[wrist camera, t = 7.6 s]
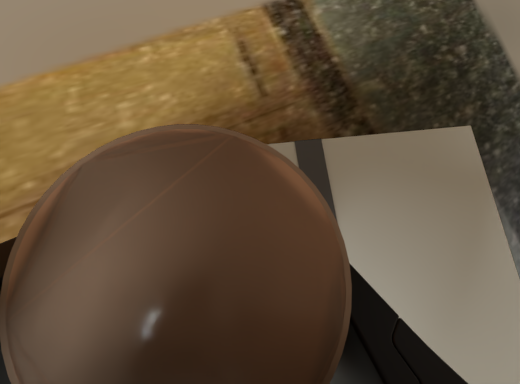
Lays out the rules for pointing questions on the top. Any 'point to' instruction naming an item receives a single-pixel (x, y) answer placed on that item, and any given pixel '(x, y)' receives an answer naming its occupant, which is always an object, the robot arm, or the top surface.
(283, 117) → the top surface
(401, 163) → the mat
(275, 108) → the top surface
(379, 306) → the robot arm
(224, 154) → the canister
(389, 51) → the top surface
